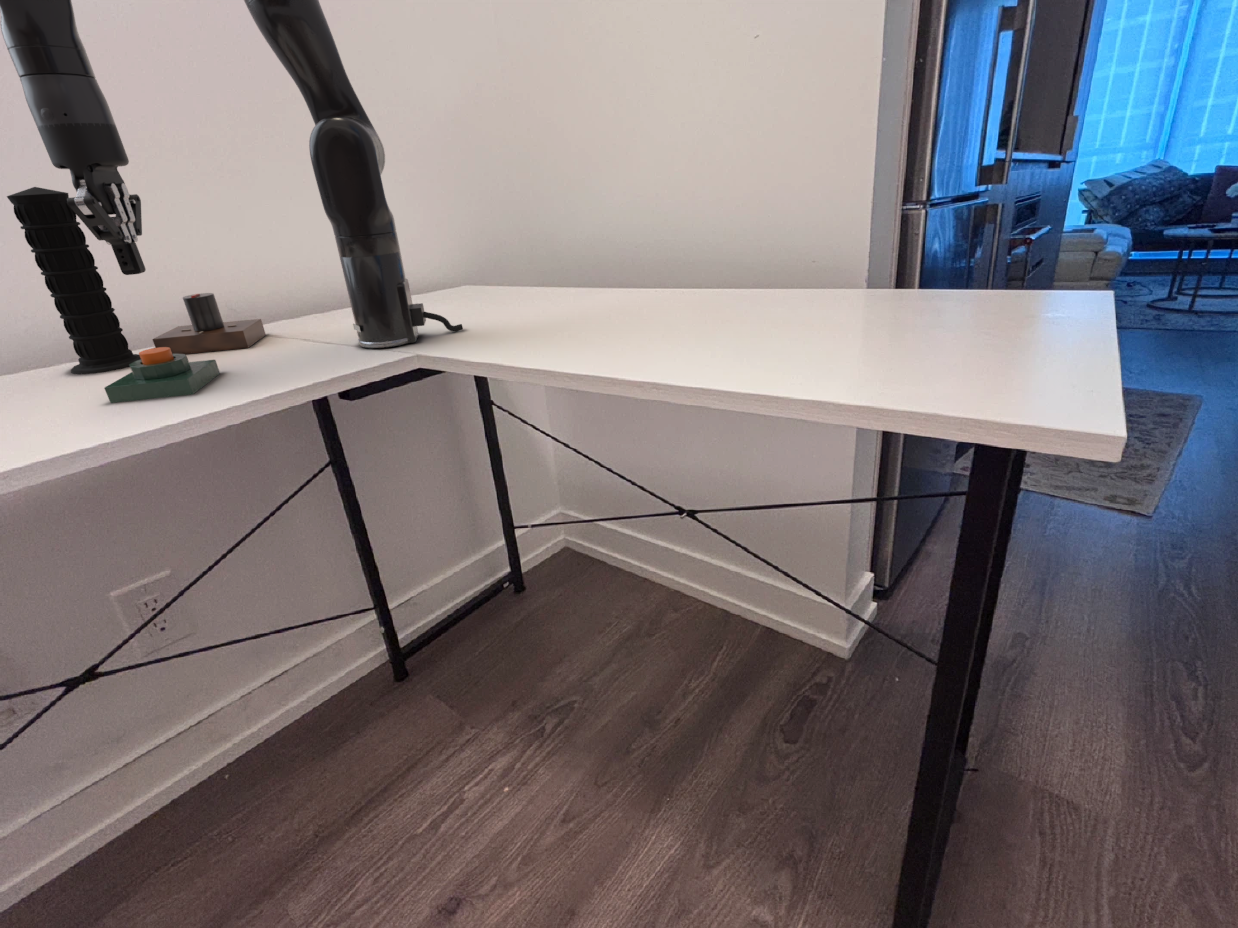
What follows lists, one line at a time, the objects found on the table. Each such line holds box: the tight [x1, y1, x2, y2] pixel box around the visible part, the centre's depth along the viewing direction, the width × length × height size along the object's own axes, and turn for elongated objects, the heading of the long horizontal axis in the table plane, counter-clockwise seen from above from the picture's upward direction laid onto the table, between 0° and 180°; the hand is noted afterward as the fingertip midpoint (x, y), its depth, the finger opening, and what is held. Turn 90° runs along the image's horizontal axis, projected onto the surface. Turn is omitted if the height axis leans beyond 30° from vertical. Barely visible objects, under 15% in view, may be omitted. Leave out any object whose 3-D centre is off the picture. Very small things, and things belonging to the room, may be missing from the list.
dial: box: [182, 292, 224, 331], centre depth 107 cm, size 5×5×6 cm
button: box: [138, 347, 174, 365], centre depth 85 cm, size 4×4×2 cm
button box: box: [103, 354, 221, 404], centre depth 86 cm, size 10×10×4 cm
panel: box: [152, 318, 267, 355], centre depth 109 cm, size 14×10×3 cm
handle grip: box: [6, 186, 141, 376], centre depth 95 cm, size 10×26×10 cm
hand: (135, 273), depth 81 cm, fingers closed
